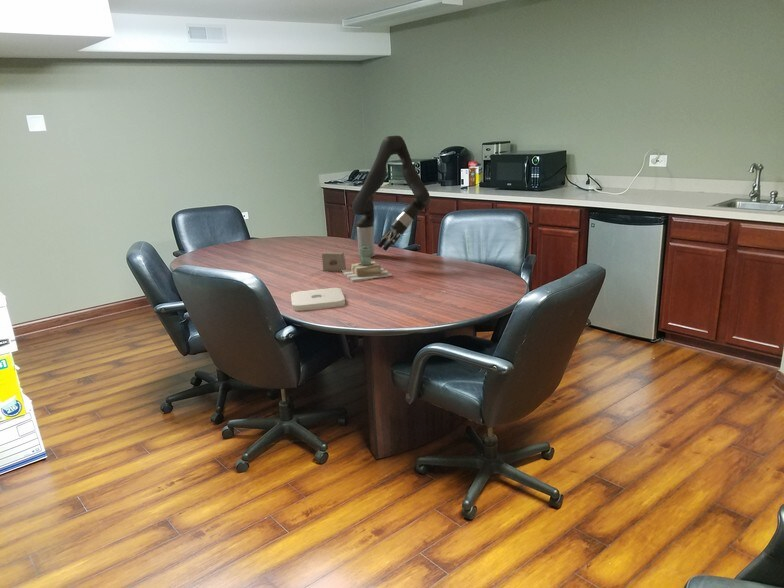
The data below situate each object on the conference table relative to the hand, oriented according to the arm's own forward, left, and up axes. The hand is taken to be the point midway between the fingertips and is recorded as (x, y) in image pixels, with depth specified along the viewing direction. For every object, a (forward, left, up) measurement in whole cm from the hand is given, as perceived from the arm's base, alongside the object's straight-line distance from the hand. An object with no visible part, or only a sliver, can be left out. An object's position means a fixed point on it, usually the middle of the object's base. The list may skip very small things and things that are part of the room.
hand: (381, 248), depth 289 cm
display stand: (0, -9, -12) cm, 15 cm away
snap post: (0, -9, -7) cm, 11 cm away
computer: (+34, -41, -13) cm, 55 cm away
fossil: (-17, -21, -13) cm, 30 cm away
